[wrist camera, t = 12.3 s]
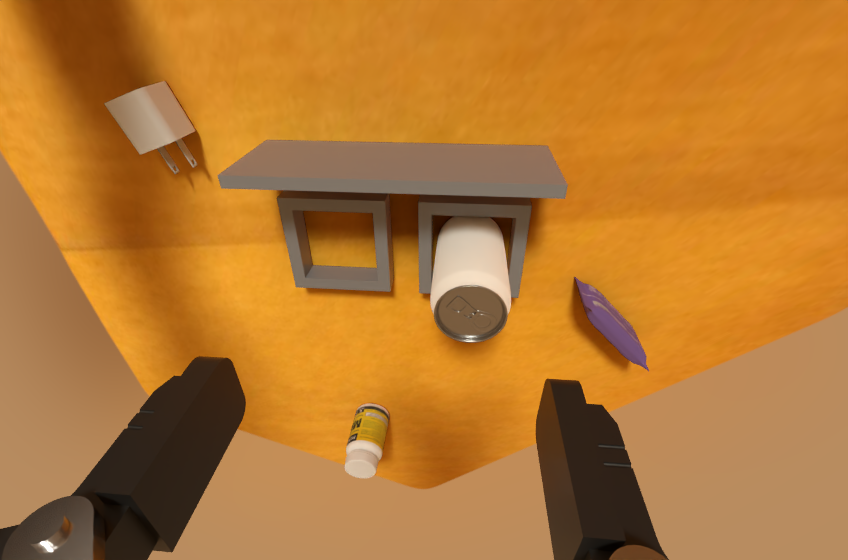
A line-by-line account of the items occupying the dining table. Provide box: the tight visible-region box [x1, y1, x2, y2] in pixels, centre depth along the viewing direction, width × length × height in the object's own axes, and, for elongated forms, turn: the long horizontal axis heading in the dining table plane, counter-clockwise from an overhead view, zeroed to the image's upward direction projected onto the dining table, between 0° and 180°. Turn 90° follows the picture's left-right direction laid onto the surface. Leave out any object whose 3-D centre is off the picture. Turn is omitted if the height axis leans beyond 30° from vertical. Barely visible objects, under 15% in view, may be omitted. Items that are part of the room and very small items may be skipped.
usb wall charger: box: [104, 81, 197, 174], centre depth 37 cm, size 4×7×4 cm, turn 19°
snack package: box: [575, 277, 649, 371], centre depth 43 cm, size 12×2×5 cm, turn 45°
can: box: [430, 216, 511, 343], centre depth 37 cm, size 6×6×12 cm
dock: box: [218, 140, 568, 298], centre depth 38 cm, size 25×14×9 cm, turn 90°
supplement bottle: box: [345, 403, 389, 478], centre depth 55 cm, size 5×5×8 cm
